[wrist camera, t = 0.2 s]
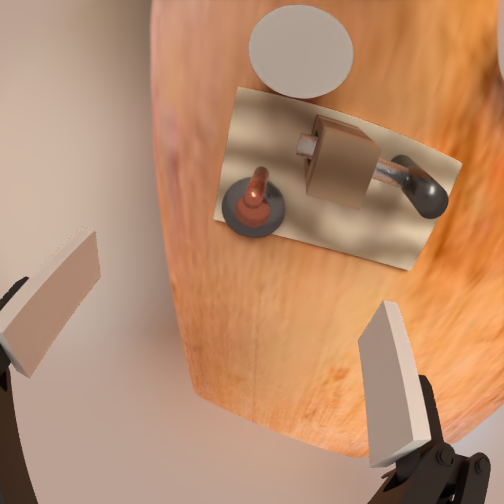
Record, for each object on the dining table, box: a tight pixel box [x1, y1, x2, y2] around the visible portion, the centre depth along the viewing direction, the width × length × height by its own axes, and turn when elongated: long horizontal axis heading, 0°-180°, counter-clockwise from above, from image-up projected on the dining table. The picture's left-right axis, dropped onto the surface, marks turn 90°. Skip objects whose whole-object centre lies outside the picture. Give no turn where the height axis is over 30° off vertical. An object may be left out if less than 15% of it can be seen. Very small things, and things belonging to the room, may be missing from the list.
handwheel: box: [221, 167, 285, 238], centre depth 34 cm, size 10×8×9 cm
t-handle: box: [295, 133, 448, 219], centre depth 29 cm, size 4×15×10 cm, turn 78°
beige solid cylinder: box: [248, 5, 353, 98], centre depth 24 cm, size 8×8×12 cm
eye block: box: [213, 87, 462, 271], centre depth 32 cm, size 18×30×12 cm, turn 78°
